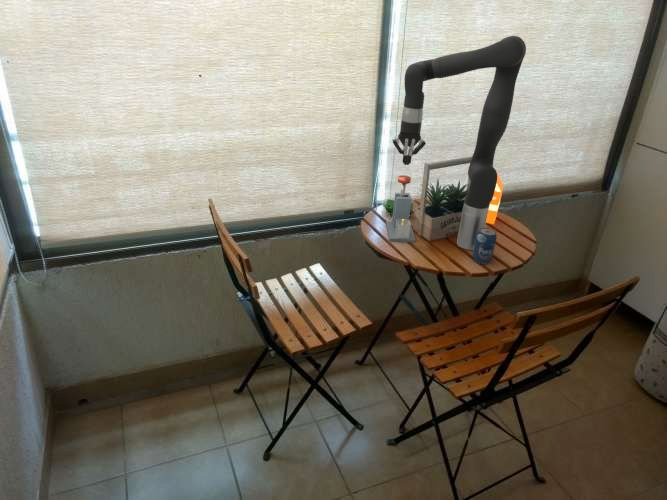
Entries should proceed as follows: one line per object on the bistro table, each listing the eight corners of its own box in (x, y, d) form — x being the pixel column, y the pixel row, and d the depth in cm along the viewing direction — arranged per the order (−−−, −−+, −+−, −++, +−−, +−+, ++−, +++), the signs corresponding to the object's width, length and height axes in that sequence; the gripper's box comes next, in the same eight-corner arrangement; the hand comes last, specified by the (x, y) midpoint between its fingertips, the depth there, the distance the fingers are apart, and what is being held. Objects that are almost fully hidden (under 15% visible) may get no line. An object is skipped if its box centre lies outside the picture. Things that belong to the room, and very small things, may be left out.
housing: (407, 233, 201) (409, 216, 198) (408, 238, 197) (411, 222, 193) (394, 232, 201) (396, 216, 197) (396, 238, 196) (398, 221, 193)
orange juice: (475, 220, 218) (484, 176, 209) (478, 213, 225) (487, 170, 216) (494, 224, 216) (504, 180, 206) (496, 216, 223) (506, 173, 213)
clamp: (388, 224, 220) (381, 208, 216) (391, 216, 225) (384, 200, 220) (414, 220, 215) (407, 203, 210) (416, 211, 219) (410, 194, 214)
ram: (406, 207, 207) (410, 175, 200) (407, 212, 202) (411, 180, 196) (393, 206, 206) (397, 175, 200) (395, 211, 202) (398, 179, 196)
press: (409, 224, 211) (413, 193, 204) (414, 242, 197) (419, 209, 190) (385, 223, 211) (389, 192, 204) (389, 241, 197) (393, 208, 190)
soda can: (477, 265, 183) (484, 236, 177) (468, 256, 189) (474, 227, 183) (494, 264, 185) (501, 234, 179) (485, 255, 191) (491, 226, 185)
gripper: (428, 117, 191) (421, 162, 199) (392, 116, 190) (388, 160, 198) (431, 122, 184) (424, 168, 192) (394, 121, 184) (390, 166, 192)
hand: (406, 164), depth 195 cm, fingers closed
